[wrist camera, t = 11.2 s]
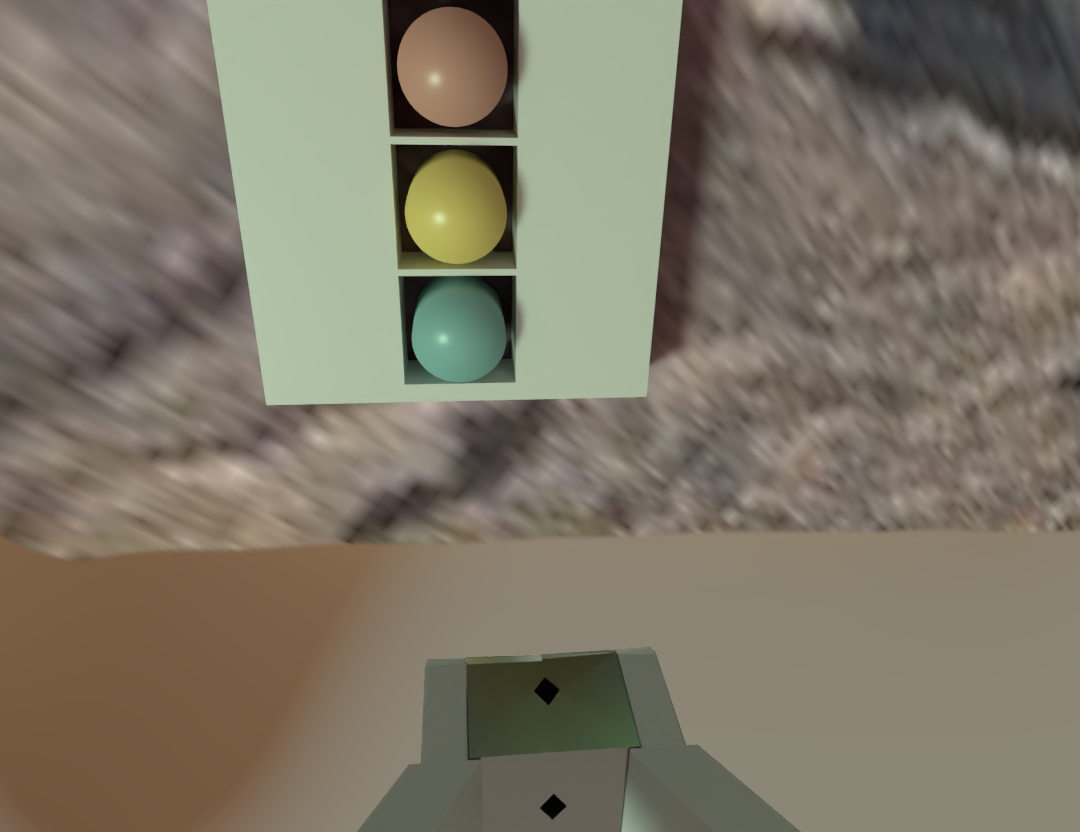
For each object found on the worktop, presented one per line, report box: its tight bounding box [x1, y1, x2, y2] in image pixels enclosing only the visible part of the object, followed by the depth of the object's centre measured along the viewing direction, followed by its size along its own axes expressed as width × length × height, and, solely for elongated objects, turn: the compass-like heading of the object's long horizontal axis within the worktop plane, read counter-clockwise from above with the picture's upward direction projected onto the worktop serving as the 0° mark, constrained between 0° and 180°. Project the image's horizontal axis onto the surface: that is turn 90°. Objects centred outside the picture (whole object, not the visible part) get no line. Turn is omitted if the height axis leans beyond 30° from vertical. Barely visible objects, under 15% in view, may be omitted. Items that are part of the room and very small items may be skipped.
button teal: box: [412, 276, 507, 382], centre depth 36 cm, size 4×4×4 cm
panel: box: [207, 0, 683, 405], centre depth 34 cm, size 18×18×3 cm
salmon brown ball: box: [397, 7, 508, 127], centre depth 31 cm, size 4×4×4 cm
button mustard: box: [405, 149, 507, 264], centre depth 34 cm, size 4×4×4 cm
